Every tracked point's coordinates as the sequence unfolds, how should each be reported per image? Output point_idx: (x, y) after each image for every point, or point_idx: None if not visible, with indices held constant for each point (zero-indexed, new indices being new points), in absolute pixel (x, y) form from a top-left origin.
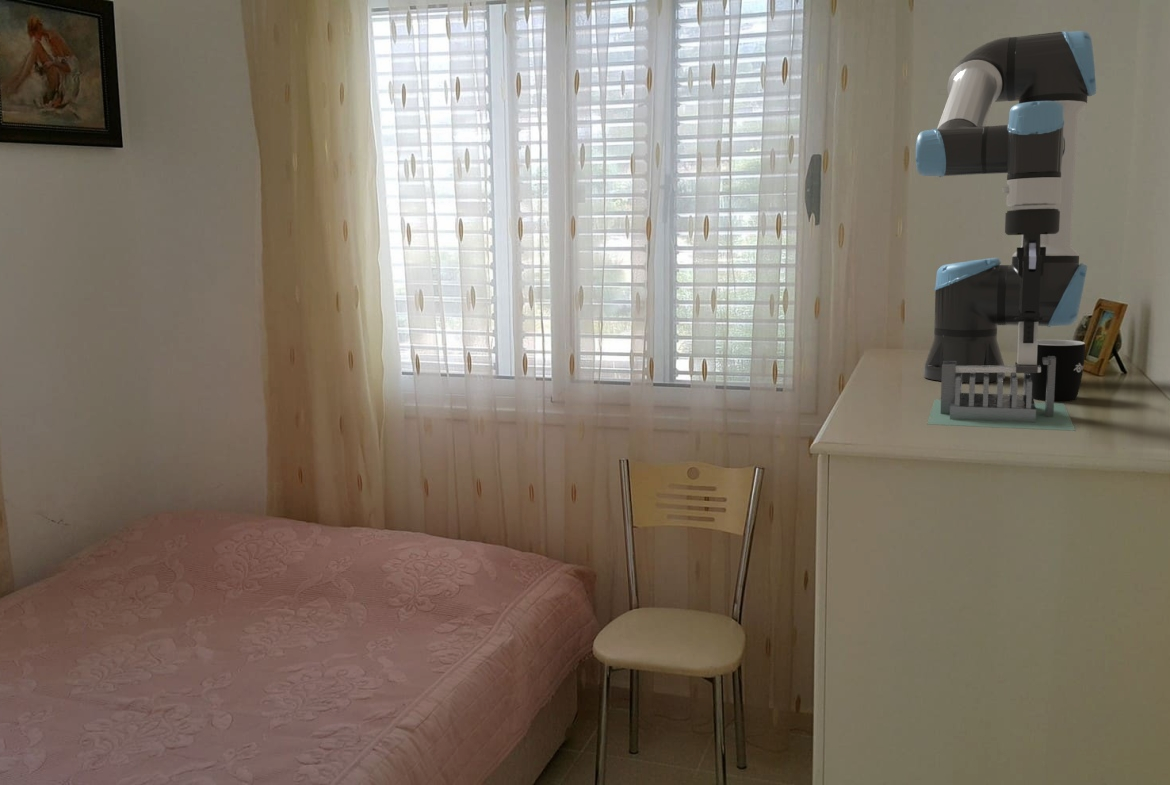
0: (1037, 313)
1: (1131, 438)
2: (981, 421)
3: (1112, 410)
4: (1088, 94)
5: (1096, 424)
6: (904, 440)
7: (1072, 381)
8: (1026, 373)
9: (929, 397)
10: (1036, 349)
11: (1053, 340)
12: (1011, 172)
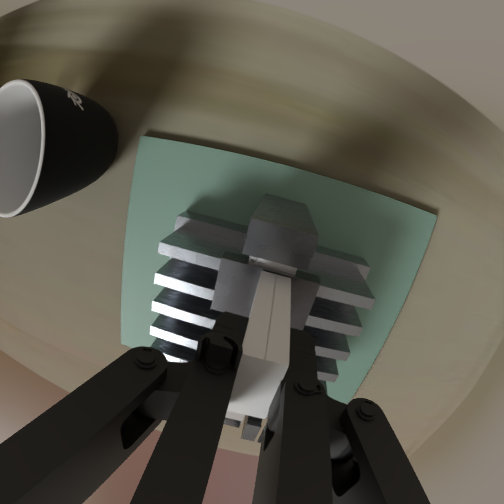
0: (383, 422)
1: (461, 138)
2: None
3: (178, 55)
4: None
5: (341, 132)
6: (410, 419)
7: (97, 113)
8: (214, 265)
9: (80, 329)
10: (289, 302)
11: None
12: None
